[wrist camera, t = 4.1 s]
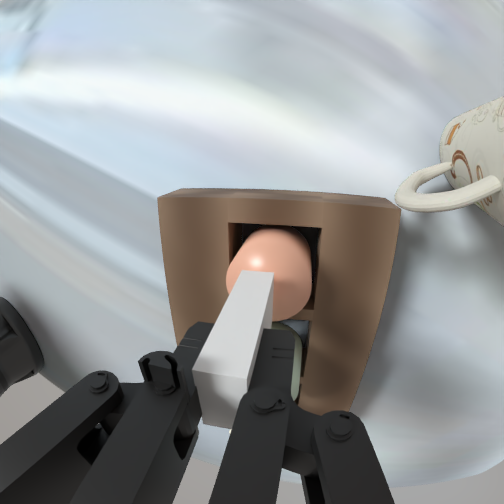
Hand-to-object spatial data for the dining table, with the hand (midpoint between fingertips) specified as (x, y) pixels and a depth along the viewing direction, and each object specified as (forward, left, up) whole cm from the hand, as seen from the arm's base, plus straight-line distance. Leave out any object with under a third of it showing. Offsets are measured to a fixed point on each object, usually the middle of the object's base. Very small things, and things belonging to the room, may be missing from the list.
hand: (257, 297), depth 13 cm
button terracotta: (0, 0, -5) cm, 5 cm away
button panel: (0, -6, -7) cm, 9 cm away
